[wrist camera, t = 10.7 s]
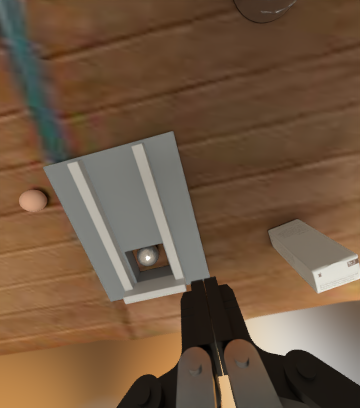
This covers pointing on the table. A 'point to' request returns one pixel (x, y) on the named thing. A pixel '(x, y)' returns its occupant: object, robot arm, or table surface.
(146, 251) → the steel ball
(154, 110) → the table surface
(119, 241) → the slate board
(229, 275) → the table surface
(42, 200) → the terracotta ball
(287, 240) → the skincare box
